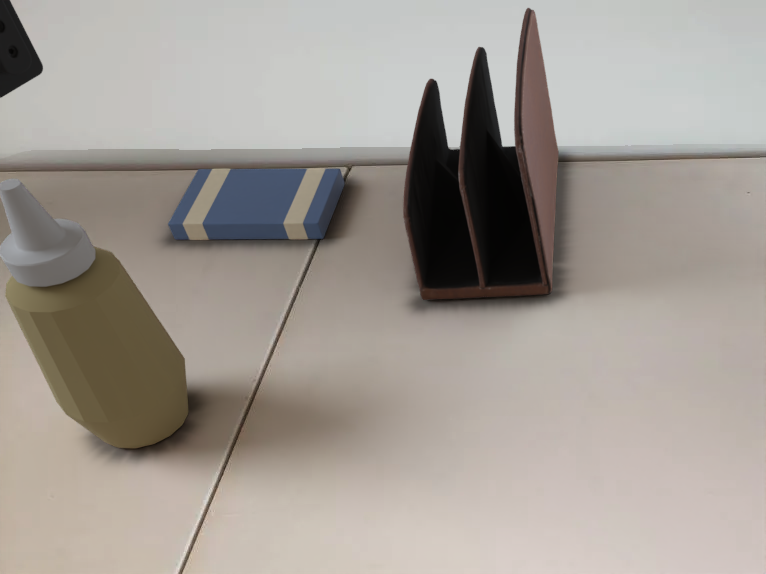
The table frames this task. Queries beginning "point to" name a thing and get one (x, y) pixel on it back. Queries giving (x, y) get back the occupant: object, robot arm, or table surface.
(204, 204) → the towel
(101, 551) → the table surface
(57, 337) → the squeeze bottle
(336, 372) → the table surface
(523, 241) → the letter holder
